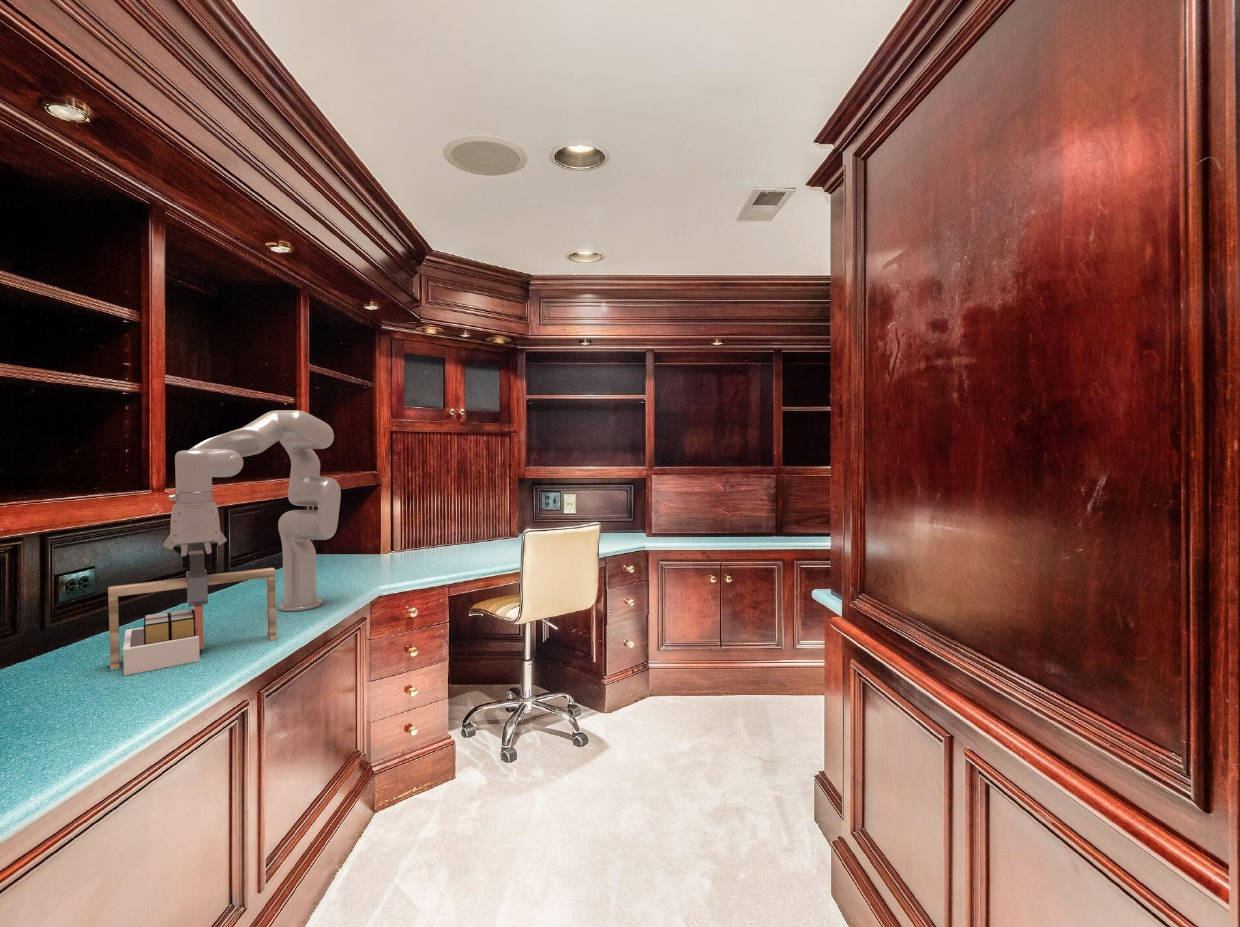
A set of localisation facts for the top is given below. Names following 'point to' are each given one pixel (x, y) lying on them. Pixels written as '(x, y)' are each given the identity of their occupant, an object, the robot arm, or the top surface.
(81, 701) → the top surface
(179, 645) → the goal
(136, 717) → the top surface
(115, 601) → the rail gantry
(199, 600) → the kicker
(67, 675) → the top surface
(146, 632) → the puzzle cube
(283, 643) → the top surface
